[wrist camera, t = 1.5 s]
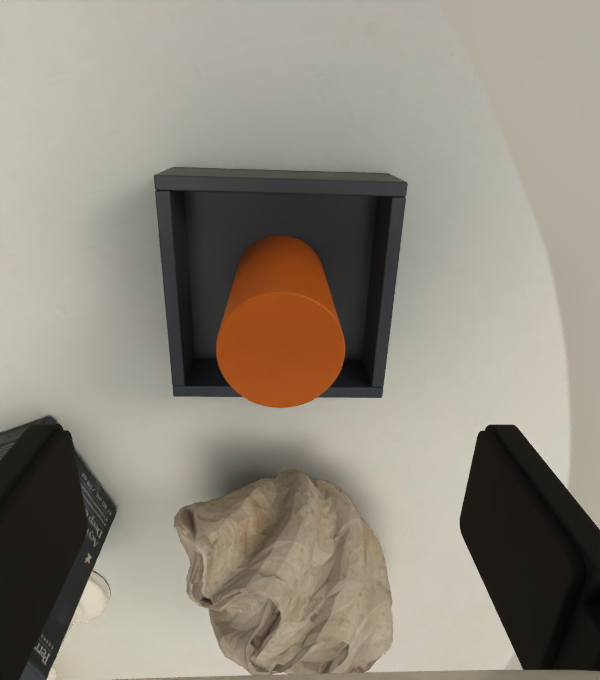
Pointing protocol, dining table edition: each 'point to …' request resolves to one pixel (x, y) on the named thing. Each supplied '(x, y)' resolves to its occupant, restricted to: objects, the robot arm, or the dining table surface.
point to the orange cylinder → (280, 326)
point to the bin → (268, 220)
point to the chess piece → (89, 605)
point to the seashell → (289, 577)
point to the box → (70, 595)
